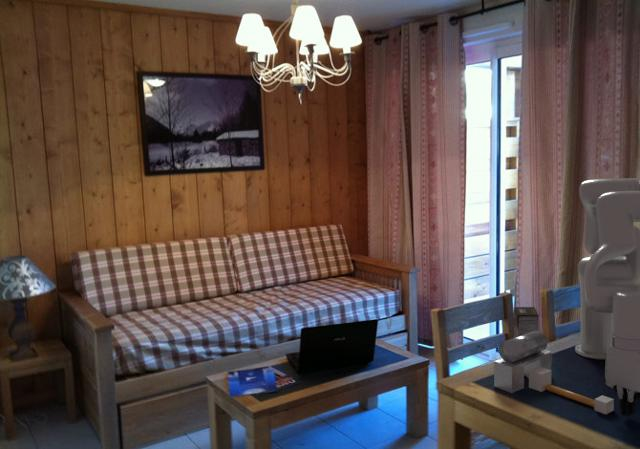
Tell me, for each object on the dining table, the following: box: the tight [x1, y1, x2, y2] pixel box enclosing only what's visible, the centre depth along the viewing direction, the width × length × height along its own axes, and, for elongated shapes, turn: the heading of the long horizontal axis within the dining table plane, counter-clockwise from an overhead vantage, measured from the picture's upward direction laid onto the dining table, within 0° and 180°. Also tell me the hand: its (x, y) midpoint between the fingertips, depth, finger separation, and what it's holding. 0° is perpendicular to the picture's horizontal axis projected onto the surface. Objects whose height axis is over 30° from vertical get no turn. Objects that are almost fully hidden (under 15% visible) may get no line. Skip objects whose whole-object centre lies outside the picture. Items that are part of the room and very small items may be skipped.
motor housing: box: [493, 331, 552, 394], centre depth 162 cm, size 18×6×14 cm, turn 124°
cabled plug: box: [526, 366, 615, 415], centre depth 152 cm, size 4×24×5 cm, turn 34°
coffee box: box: [513, 306, 540, 338], centre depth 179 cm, size 9×6×16 cm
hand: (627, 414), depth 138 cm, fingers closed
